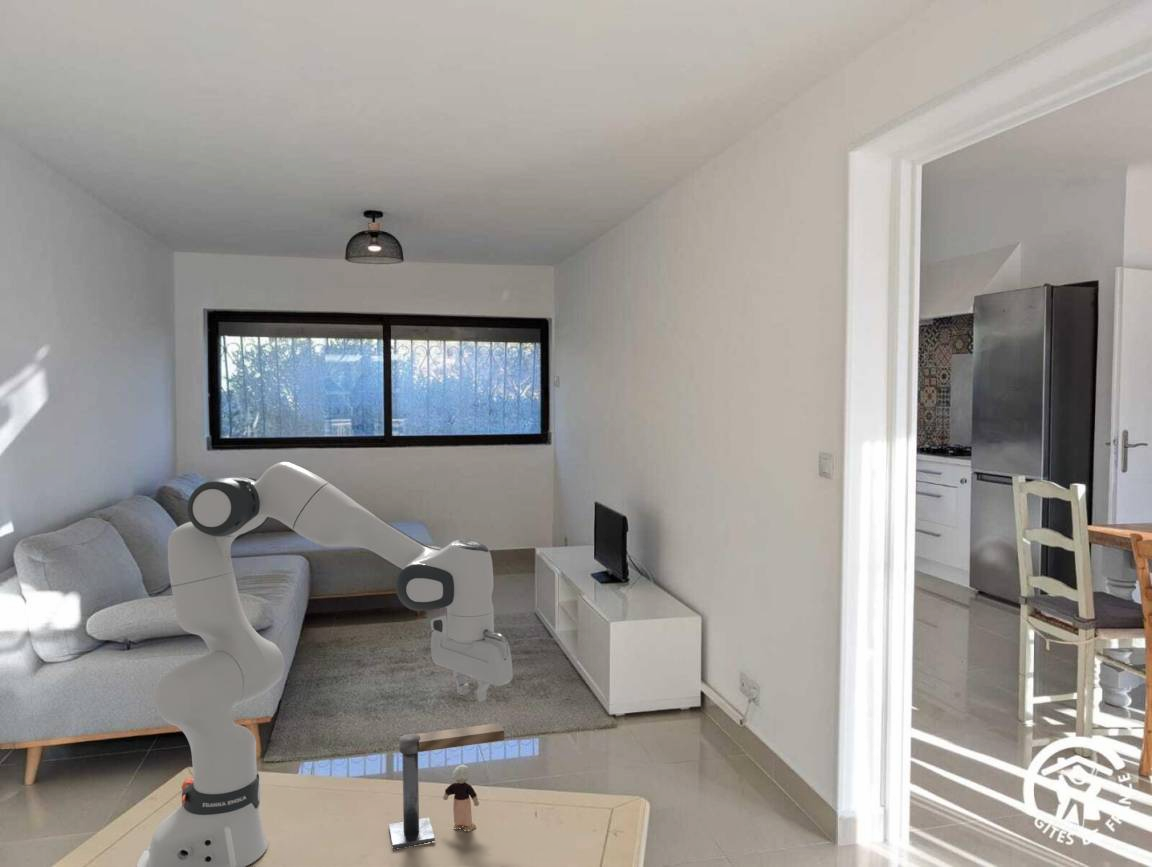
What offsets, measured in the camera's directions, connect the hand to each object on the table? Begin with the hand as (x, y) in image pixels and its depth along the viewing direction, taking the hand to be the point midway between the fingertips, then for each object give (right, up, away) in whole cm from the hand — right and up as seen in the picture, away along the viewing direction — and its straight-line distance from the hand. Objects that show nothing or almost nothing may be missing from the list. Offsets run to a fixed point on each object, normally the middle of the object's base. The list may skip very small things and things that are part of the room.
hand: (471, 696), depth 158 cm
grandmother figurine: (-3, -29, +8) cm, 30 cm away
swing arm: (-5, -12, +6) cm, 14 cm away
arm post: (-13, -29, +5) cm, 32 cm away
